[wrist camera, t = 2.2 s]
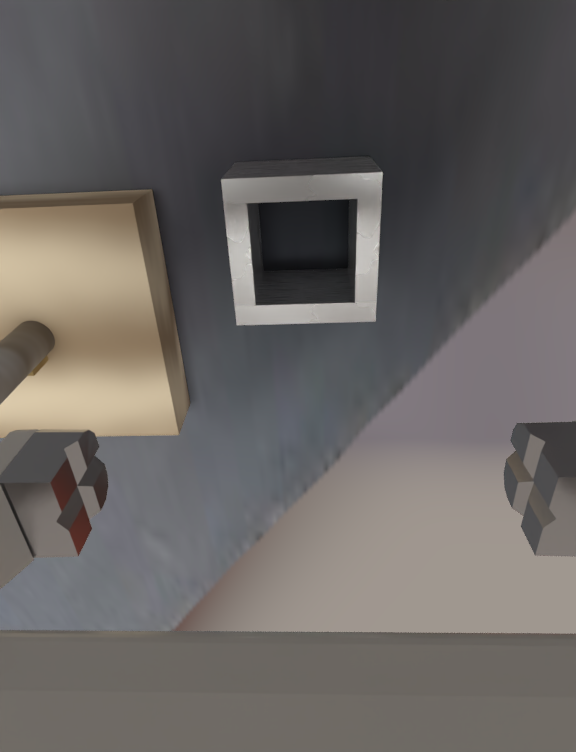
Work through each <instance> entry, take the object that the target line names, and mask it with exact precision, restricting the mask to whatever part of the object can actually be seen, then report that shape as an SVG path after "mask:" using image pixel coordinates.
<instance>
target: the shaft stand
mask: <svg viewBox="0 0 576 752" xmlns="http://www.w3.org/2000/svg"><path fill="white" fill-rule="evenodd" d="M189 406H190V399H189V394H188V388H187V382H186V377H185V371H184V366H183V360H182V354H181V349H180V343H179V337H178V332H177V326H176V321H175V315H174V309H173V304H172V298H171V293H170V287H169V281H168V276H167V270H166V264H165V259H164V253H163V248H162V242H161V236H160V231H159V225H158V220H157V214H156V208H155V203H154V197H153V191H152V189H147V190H124V191H101V192H77V193H54V194H31V195H8V196H0V438H5V437H6V436H7V435H8V434H9V432H12V431H15V430H32V429H38V430H41V429H65V430H90V431H92V432H94V433H95V435H96V436H147V435H179V433H180V431H181V428H182V425H183V422H184V420H185V417H186V414H187V411H188V408H189Z"/></svg>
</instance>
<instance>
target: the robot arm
mask: <svg viewBox="0 0 576 752" xmlns="http://www.w3.org/2000/svg"><path fill="white" fill-rule="evenodd" d="M511 442H512V444H513V446H514V448H515V449H516V451H515V452H514V453H513V454H512V455H511V456H510V457H508V458H507V459H506V465H505V470H504V485H505V491H506V494H507V498H508V500H509V502H510V505H511V507H512V508H513V509H514V510H516V511H517V512H518V513H520V514H521V515H523V516H524V517H523V520H522V525H521V527H522V529H523V532H524V534H525V536H526V537H527V540H528V541H529V544H530V546H531V548H532V550H533V552H534V554H535V555H540V556H541V555H543V556H576V421H572V422H547V423H517V425H516V426H515V428H514V429H513V433H512V437H511ZM98 448H99V444H98V441H97V438H96V435H95V433H94V432H92V431H90V430H65V429H41V430H38V429H32V430H15V431H12V432H9V434H8V435H7V436H6V437H5V438H4V439H3V440H2V442H1V443H0V589H1V588H2V587H3V586H5V585H6V584H7V583H8V582H9V581H10V580H12V579H13V578H14V577H15V576H16V575H17V574H18V573H20V572H21V571H22V570H23V569H24V568H25V567H27V566H28V565H29V564H30V563H31V562H32V561H33V560H34V558H42V557H74V556H79V554H80V552H81V550H82V548H83V546H84V544H85V542H86V540H87V538H88V536H89V534H90V532H91V530H92V527H91V524H90V521H89V519H91V518H92V517H93V516H95V515H96V514H97V513H99V512H100V511H101V509H102V507H103V505H104V503H105V501H106V497H107V491H108V474H107V470H106V467H105V464H104V463H103V462H101V461H100V460H99V459H98V458H97V457H96V456H95V454H96V452H97V450H98ZM0 752H576V634H542V633H393V632H388V633H387V632H227V631H226V632H224V631H222V632H220V631H65V630H0Z"/></svg>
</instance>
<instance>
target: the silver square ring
mask: <svg viewBox="0 0 576 752" xmlns="http://www.w3.org/2000/svg"><path fill="white" fill-rule="evenodd" d="M382 179H383V172H382V171H381V169H380V168H379V167H378V166H377V164H376V163H375V162H374V160H373V159H372V158H371V157H370V156H360V157H338V158H316V159H294V160H272V161H250V162H235V163H234V165H233V166H232V167H231V168H230V169H229V170H228V172H227V173H226V174H225V175H224V176H223V177H222V179H221V185H222V195H223V204H224V213H225V222H226V231H227V240H228V250H229V259H230V268H231V277H232V286H233V295H234V304H235V314H236V323H237V325H268V324H304V323H340V322H376V303H377V282H378V261H379V241H380V220H381V199H382ZM339 199H349V223H348V268H339V269H309V270H279V271H264V270H263V256H262V243H261V229H260V216H259V203H266V202H290V201H314V200H339Z"/></svg>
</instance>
